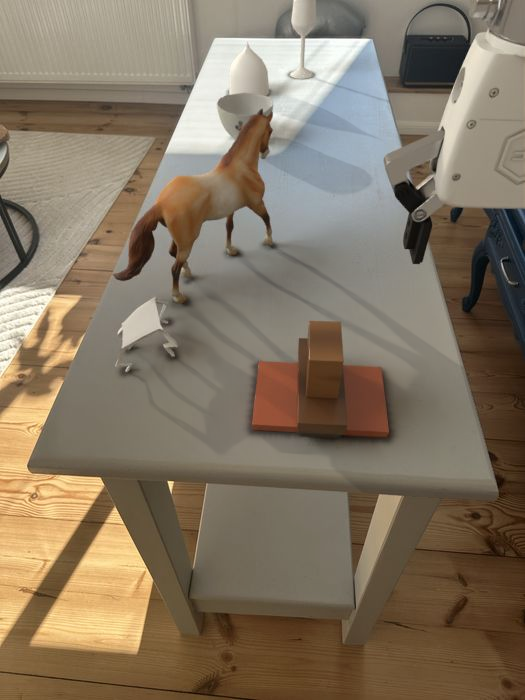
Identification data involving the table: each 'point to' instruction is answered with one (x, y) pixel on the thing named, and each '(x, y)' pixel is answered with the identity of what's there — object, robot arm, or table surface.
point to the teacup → (241, 110)
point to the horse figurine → (205, 203)
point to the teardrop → (248, 74)
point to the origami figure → (143, 328)
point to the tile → (282, 398)
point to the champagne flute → (303, 30)
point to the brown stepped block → (321, 382)
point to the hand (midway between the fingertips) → (472, 255)
